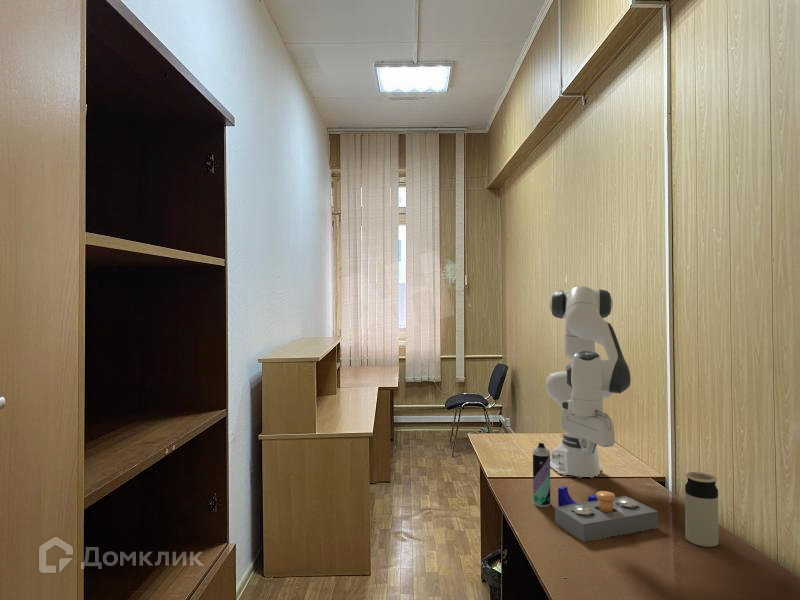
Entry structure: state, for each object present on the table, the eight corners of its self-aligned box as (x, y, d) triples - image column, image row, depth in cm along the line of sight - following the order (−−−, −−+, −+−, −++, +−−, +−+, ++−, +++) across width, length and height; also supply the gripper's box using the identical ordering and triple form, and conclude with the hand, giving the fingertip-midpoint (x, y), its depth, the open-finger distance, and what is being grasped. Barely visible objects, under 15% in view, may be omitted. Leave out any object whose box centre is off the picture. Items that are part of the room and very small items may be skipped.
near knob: (570, 526, 157) (569, 506, 157) (584, 524, 159) (584, 504, 159) (581, 534, 153) (581, 513, 152) (596, 531, 154) (596, 510, 154)
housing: (555, 523, 160) (555, 507, 160) (625, 511, 169) (625, 495, 169) (583, 542, 148) (583, 524, 148) (657, 528, 156) (657, 511, 156)
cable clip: (600, 513, 168) (600, 494, 168) (593, 517, 165) (592, 498, 165) (565, 502, 177) (565, 484, 177) (558, 506, 174) (558, 488, 174)
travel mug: (714, 550, 143) (714, 483, 142) (681, 541, 148) (681, 476, 148) (721, 540, 148) (721, 475, 148) (689, 532, 154) (689, 469, 154)
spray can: (529, 502, 177) (529, 441, 177) (543, 499, 179) (542, 440, 179) (540, 508, 172) (539, 446, 172) (554, 505, 174) (553, 444, 174)
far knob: (614, 519, 163) (614, 499, 163) (628, 516, 164) (628, 497, 164) (627, 525, 158) (626, 505, 158) (641, 523, 159) (641, 503, 159)
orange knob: (592, 512, 160) (592, 492, 160) (607, 510, 162) (606, 490, 162) (604, 519, 155) (604, 498, 155) (619, 516, 157) (619, 496, 157)
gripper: (620, 414, 149) (620, 463, 150) (574, 399, 169) (574, 443, 169) (601, 416, 147) (601, 466, 148) (557, 401, 167) (557, 445, 167)
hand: (586, 453), depth 158 cm, fingers closed
